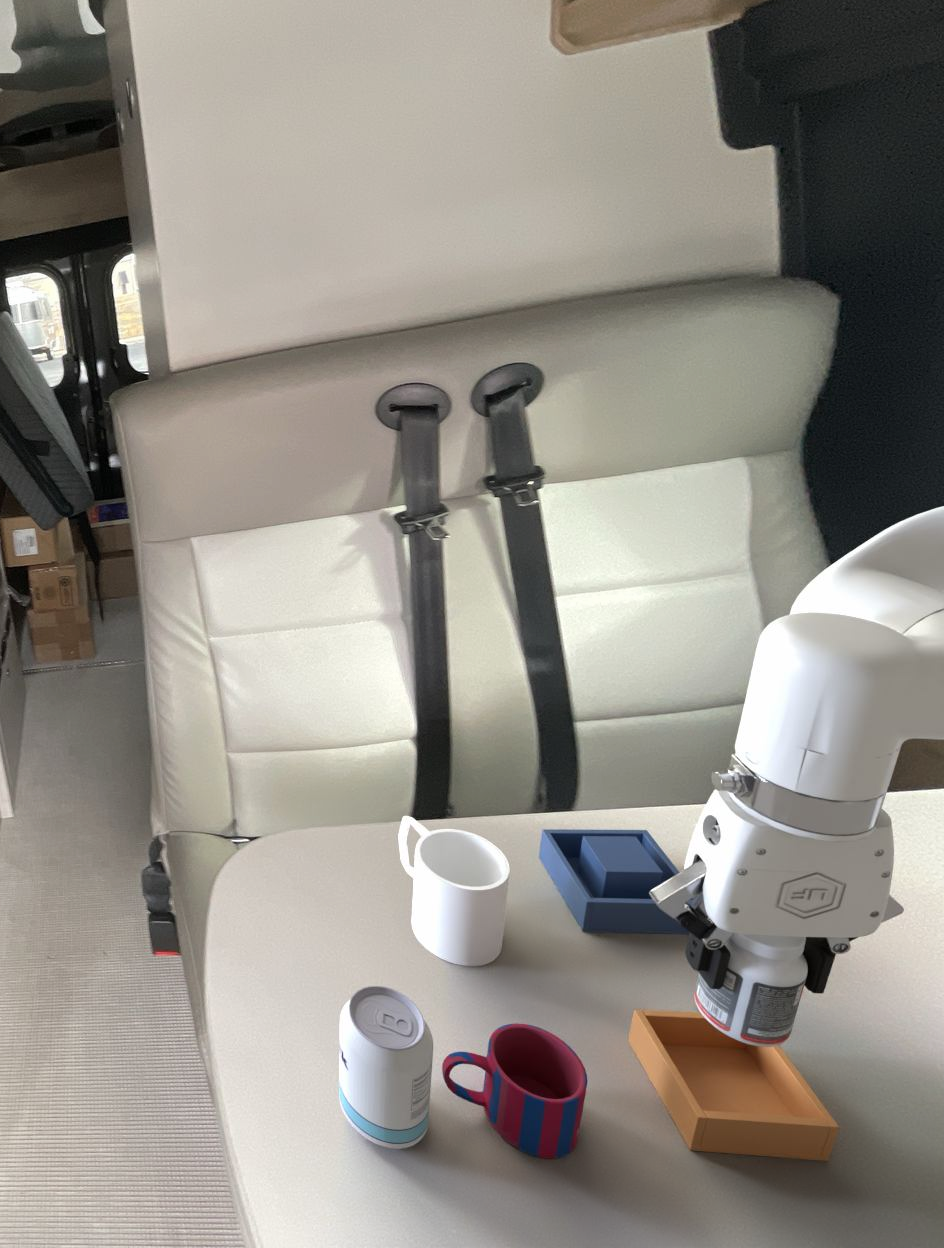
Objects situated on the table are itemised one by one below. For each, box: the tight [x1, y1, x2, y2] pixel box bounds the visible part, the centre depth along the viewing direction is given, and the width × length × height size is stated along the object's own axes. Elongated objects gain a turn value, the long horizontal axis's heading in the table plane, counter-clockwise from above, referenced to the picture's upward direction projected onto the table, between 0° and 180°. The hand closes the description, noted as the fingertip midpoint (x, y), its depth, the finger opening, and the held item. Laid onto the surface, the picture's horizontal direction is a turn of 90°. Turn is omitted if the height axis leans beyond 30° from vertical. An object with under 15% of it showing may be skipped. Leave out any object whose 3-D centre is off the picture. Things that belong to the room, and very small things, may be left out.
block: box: [578, 836, 663, 899], centre depth 86 cm, size 5×5×5 cm
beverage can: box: [338, 985, 434, 1150], centre depth 69 cm, size 7×7×12 cm
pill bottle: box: [693, 933, 808, 1047], centre depth 63 cm, size 6×6×10 cm
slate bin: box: [538, 828, 698, 935], centre depth 87 cm, size 10×10×4 cm
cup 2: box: [441, 1022, 588, 1160], centre depth 69 cm, size 7×10×7 cm
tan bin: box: [627, 1008, 840, 1162], centre depth 68 cm, size 9×9×4 cm
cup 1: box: [397, 815, 511, 967], centre depth 86 cm, size 8×12×10 cm
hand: (752, 973), depth 63 cm, fingers closed on pill bottle, 5 cm apart
